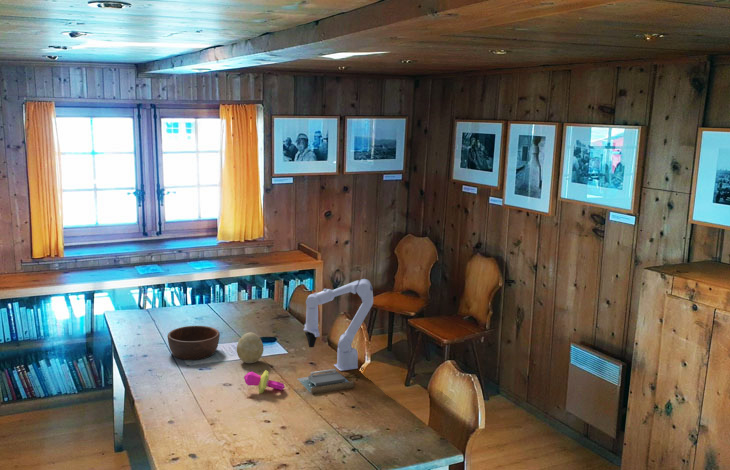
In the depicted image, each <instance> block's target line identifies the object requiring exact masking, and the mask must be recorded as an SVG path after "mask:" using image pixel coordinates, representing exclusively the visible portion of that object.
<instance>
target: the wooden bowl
mask: <svg viewBox="0 0 730 470" xmlns="http://www.w3.org/2000/svg"><path fill="white" fill-rule="evenodd" d="M220 335H221V333H220V331H219V330H218V329H217V328H215V327H211V326H207V325H187V326H181V327H178V328H174V329H173V330H171V331H169V332H168V334H167V337H166V338H167V342H168V347H169V350H170V352H171V354H172V356H174V357H176V358H178V359H180V360H186V361H188V360H189V361H192V360H193V361H194V360H195V361H196V360H202V359H207V358H209V357H211V356H213V355H214V354H215V352H216V351H217V349H218V346H219V343H220Z"/></svg>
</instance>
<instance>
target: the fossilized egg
mask: <svg viewBox="0 0 730 470" xmlns="http://www.w3.org/2000/svg"><path fill="white" fill-rule="evenodd" d="M236 344H237V345H236V354H237V356H238V358H239V359H240V360H241V361H242V362H244V363H245V364H254V363H257V362H258V361H259V360H260V359H261V357H262V356H263V354H264V344H263V341H262V339H261V337H260V336H258V334H256V333H254V332H252V331H251V332H246V333H244V334H243V335H242V336H241V337H240V338H239V340H238V342H237V343H236Z"/></svg>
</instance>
